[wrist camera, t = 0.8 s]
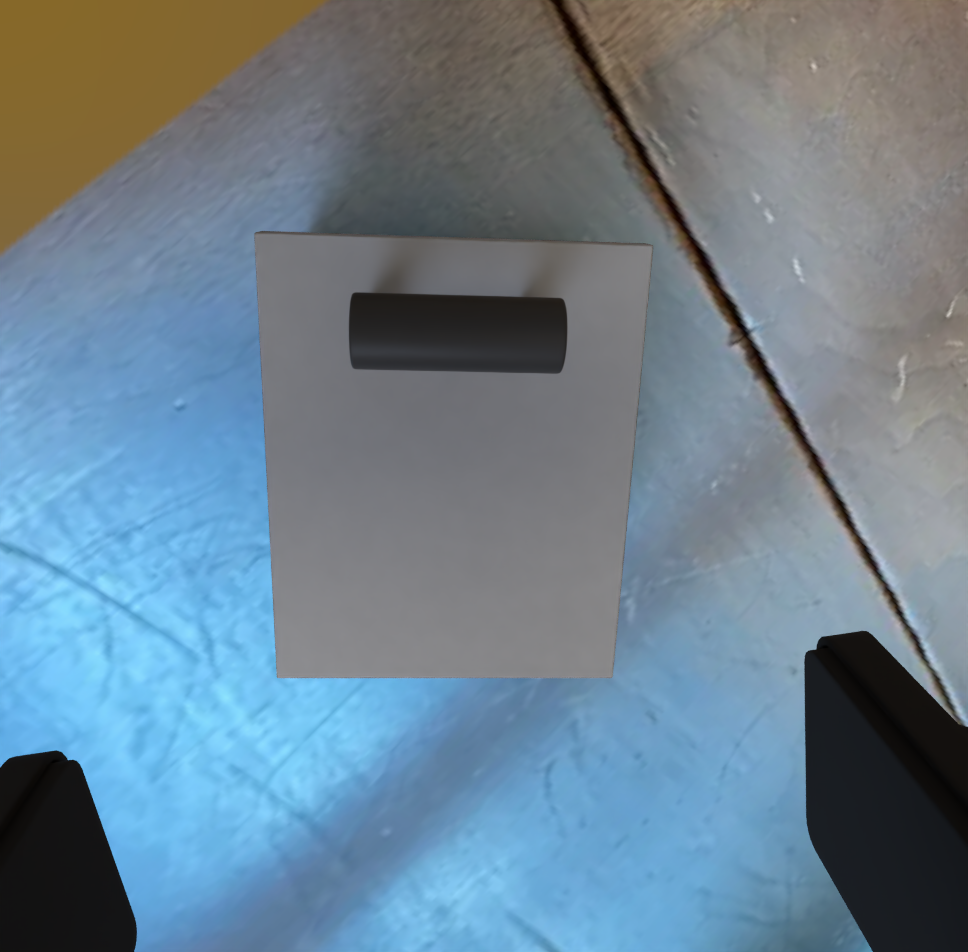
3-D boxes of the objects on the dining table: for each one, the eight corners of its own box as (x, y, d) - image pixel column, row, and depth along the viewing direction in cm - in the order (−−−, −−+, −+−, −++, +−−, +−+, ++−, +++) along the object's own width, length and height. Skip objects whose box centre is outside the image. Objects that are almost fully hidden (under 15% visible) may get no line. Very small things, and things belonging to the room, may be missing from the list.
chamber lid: (259, 230, 23) (216, 242, 18) (647, 243, 24) (697, 256, 19) (280, 665, 27) (250, 760, 23) (607, 665, 28) (641, 758, 23)
